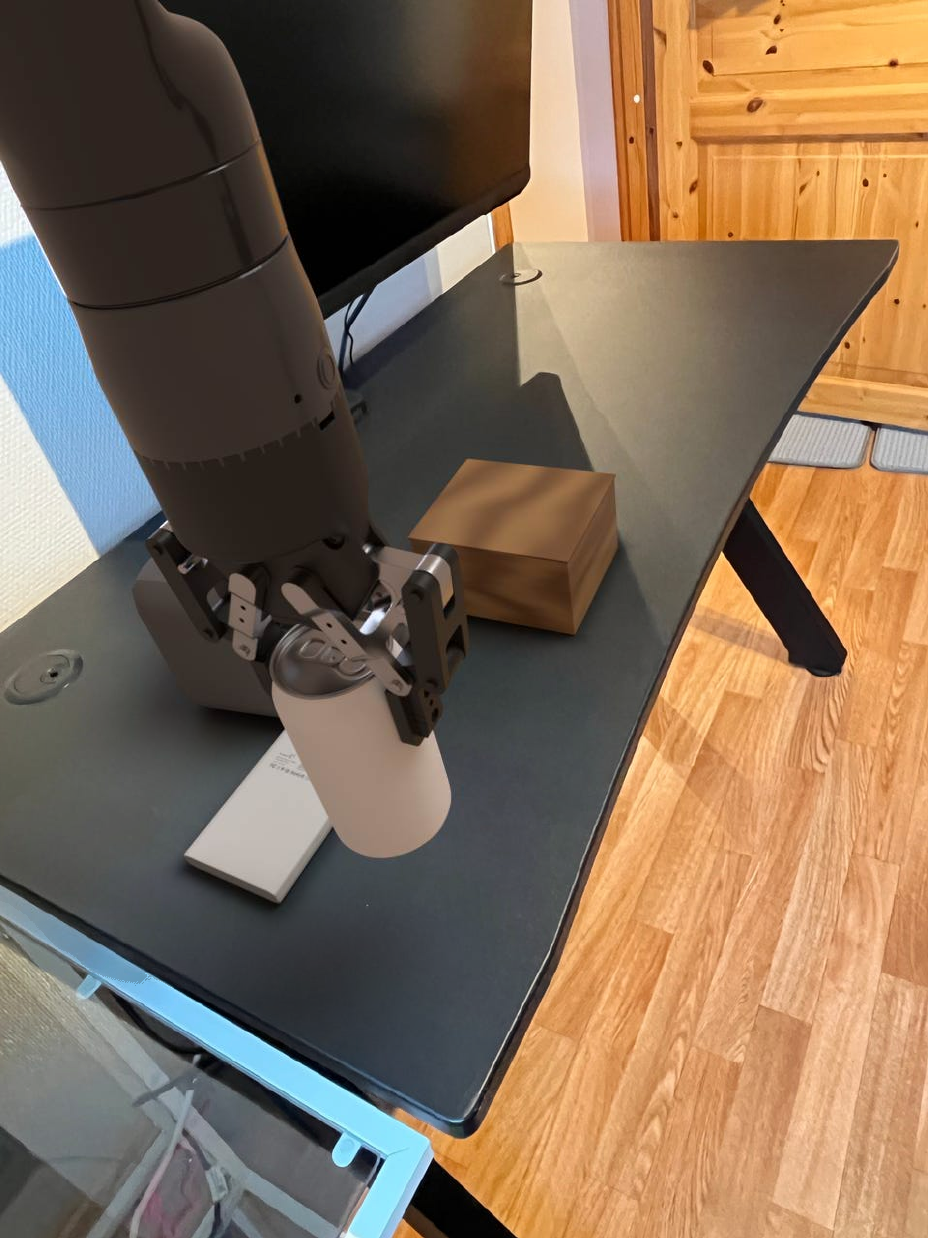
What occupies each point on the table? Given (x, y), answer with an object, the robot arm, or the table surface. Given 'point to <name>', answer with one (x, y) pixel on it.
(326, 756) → the can
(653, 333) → the table surface
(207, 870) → the hard drive
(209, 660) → the alarm clock
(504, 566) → the wooden block
